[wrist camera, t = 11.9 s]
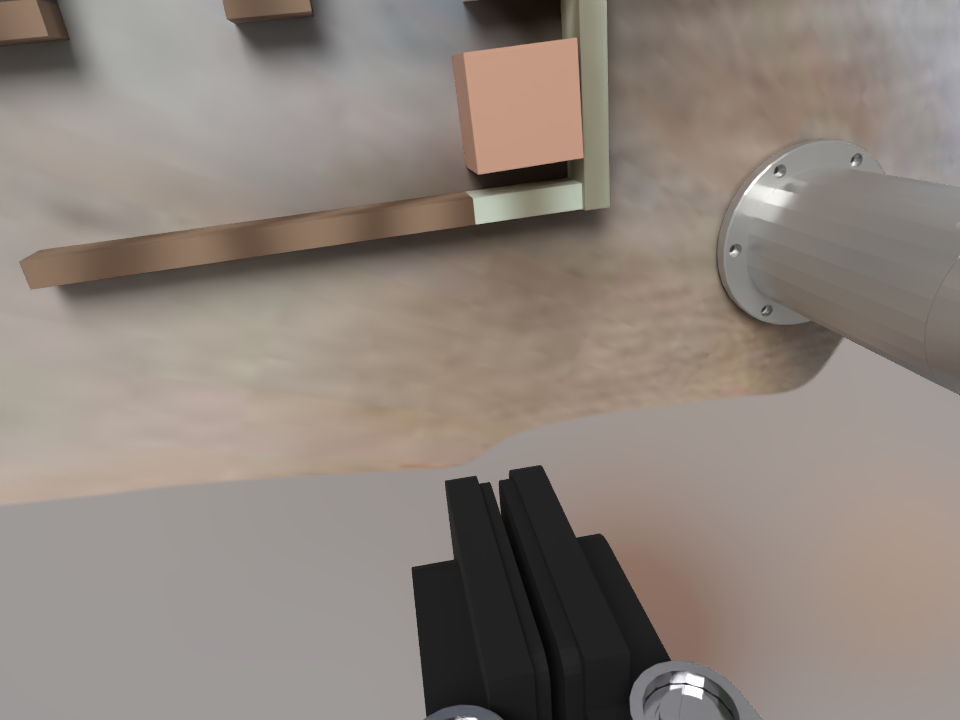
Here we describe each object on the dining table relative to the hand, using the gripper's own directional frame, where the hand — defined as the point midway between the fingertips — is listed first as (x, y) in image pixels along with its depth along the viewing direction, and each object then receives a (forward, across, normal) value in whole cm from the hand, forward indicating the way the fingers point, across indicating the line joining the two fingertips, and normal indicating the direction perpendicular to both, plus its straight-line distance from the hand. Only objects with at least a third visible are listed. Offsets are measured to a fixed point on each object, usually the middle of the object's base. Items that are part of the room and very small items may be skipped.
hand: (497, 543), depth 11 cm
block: (+30, -7, -6) cm, 32 cm away
